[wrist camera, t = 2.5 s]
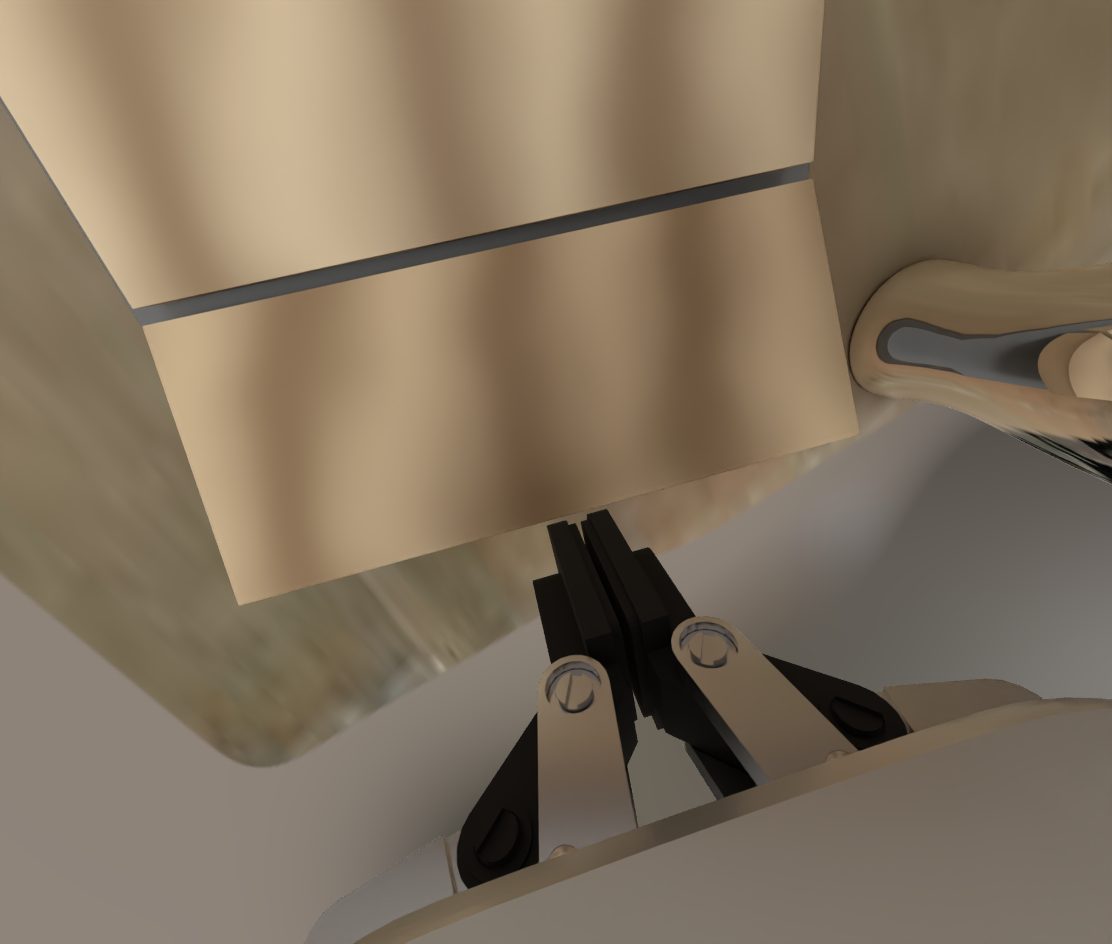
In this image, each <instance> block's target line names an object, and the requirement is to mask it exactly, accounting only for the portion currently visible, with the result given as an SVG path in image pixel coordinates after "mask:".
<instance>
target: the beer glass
mask: <svg viewBox="0 0 1112 944" xmlns="http://www.w3.org/2000/svg"><path fill="white" fill-rule="evenodd" d="M849 356H850V366H851V370H852V373H853V376H854V378H855V379H856V381H857V382H858V384H859V385H860V386H861V387H862V388H864V389H865V390H867V391H868V392H870V393H872V394H875V395H879V396H884V397H890V398H898V399H908V400H917V401H924V402H930V403H935V404H939V405H943V406H947V407H950V408H952V409H955V410H958V411H961V412H963V413H966V414H969V415H971V416H973V417H975V418H977V419H979V420H981V421H983V422H985V423H987V424H990V425H991V426H994V427H996V428H997V429H999V430H1001V431H1003V432H1005V433H1007V434H1009V435H1011V436H1013V437H1015V438H1017V439H1019V440H1021V441H1023V442H1025V443H1026V444H1028V445H1030V446H1032V447H1034V448H1036V449H1038V450H1040V451H1042V452H1044V453H1047V454H1048V455H1050V456H1052V457H1054V458H1056V459H1058V460H1060V461H1062V462H1064V463H1066V464H1068V465H1070V466H1072V467H1074V468H1077V469H1079V470H1081V471H1084V472H1086V473H1088V474H1090V475H1093V476H1094V477H1097V478H1099V479H1101V480H1103V481H1106V482H1108V483H1110V484H1112V263H1105V264H1098V265H1090V266H1082V267H1074V268H1065V269H1056V270H1048V271H1003V270H995V269H988V268H984V267H979V266H974V265H970V264H965V263H961V262H956V261H950V260H939V259H935V260H927V261H922V262H918V263H915V264H912V265H910V266H908V267H906V268H904V269H902V270H901V271H899V272H898V273H896V274H895V275H893V276H892V277H891V278H889V279H888V280H887V281H886V282H885V283H884V284H883V285H882V286H881V287H880V288H879V289H878V290H877V291H876V292H875V293H874V295H873V296H872V297H871V299H870V300H869V301H868V303H867V304H866V306H865V307H864V309H863V311H862V312H861V314H860V316H859V318H858V321H857V323H856V325H855V328H854V331H853V334H852V338H851V343H850V355H849Z"/></svg>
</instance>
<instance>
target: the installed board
mask: <svg viewBox="0 0 1112 944" xmlns="http://www.w3.org/2000/svg"><path fill="white" fill-rule="evenodd" d="M824 2H825V0H0V97H1V98H2V100H3V101H4V103H5V105H6V106H7V108H8V109H9V111H10V113H11V114H12V116H13V118H14V119H15V121H16V122H17V124H18V126H19V127H20V129H21V130H22V132H23V134H24V135H25V137H26V138H27V140H28V142H29V143H30V145H31V146H32V148H33V150H34V151H35V153H36V155H37V156H38V158H39V159H40V161H41V163H42V164H43V166H44V167H45V169H46V171H47V172H48V174H49V175H50V177H51V179H52V180H53V182H54V183H55V185H56V187H57V188H58V190H59V191H60V193H61V195H62V196H63V198H64V200H65V201H66V203H67V204H68V206H69V208H70V209H71V211H72V212H73V214H74V216H75V217H76V219H77V220H78V222H79V224H80V225H81V227H82V228H83V230H84V232H85V233H86V235H87V237H88V238H89V240H90V241H91V243H92V245H93V246H94V248H95V249H96V251H97V253H98V254H99V256H100V257H101V259H102V261H103V262H104V264H105V265H106V267H107V269H108V270H109V272H110V274H111V275H112V277H113V278H114V280H115V282H116V283H117V285H118V286H119V288H120V290H121V291H122V293H123V294H124V296H125V298H126V299H127V301H128V302H129V304H130V306H131V307H132V309H136V308H143V307H150V306H157V305H164V304H168V303H173V302H177V301H182V300H187V299H191V298H196V297H200V296H205V295H210V294H214V293H219V292H223V291H228V290H233V289H237V288H242V287H246V286H251V285H256V284H260V283H265V282H269V281H274V280H279V279H283V278H288V277H292V276H297V275H302V274H306V273H311V272H315V271H320V270H325V269H329V268H334V267H338V266H343V265H348V264H352V263H357V262H361V261H366V260H371V259H375V258H380V257H384V256H389V255H394V254H398V253H403V252H408V251H412V250H417V249H421V248H426V247H431V246H435V245H440V244H444V243H449V242H454V241H458V240H463V239H467V238H472V237H477V236H481V235H486V234H490V233H495V232H500V231H504V230H509V229H513V228H518V227H523V226H527V225H532V224H536V223H541V222H546V221H550V220H555V219H559V218H564V217H569V216H573V215H578V214H582V213H587V212H592V211H596V210H601V209H605V208H610V207H615V206H619V205H624V204H628V203H633V202H638V201H642V200H647V199H651V198H656V197H661V196H665V195H670V194H674V193H679V192H684V191H688V190H693V189H697V188H702V187H707V186H711V185H716V184H720V183H725V182H730V181H734V180H739V179H743V178H748V177H753V176H757V175H762V174H766V173H771V172H776V171H780V170H785V169H788V168H792V167H795V166H799V165H802V164H806V163H809V162H813V158H814V143H815V129H816V115H817V101H818V87H819V73H820V59H821V45H822V31H823V17H824Z"/></svg>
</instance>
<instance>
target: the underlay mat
mask: <svg viewBox="0 0 1112 944" xmlns="http://www.w3.org/2000/svg"><path fill="white" fill-rule="evenodd" d="M0 101H1V103H2V104H3V106H4V108H5V109H6V111H7V112H8V114H9V116H10V117H11V119H12V120H13V122H14V124H15V125H16V127H17V128H18V130H19V132H20V133H21V135H22V136H23V138H24V140H25V141H26V143H27V144H28V146H29V148H30V149H31V151H32V152H33V154H34V156H35V157H36V159H37V160H38V162H39V164H40V165H41V167H42V169H43V170H44V172H45V173H46V175H47V177H48V178H49V180H50V181H51V183H52V185H53V186H54V188H55V189H56V191H57V193H58V194H59V196H60V197H61V199H62V201H63V202H64V204H65V205H66V207H67V209H68V210H69V212H70V213H71V215H72V217H73V218H74V220H75V221H76V223H77V225H78V226H79V228H80V229H81V231H82V233H83V234H84V236H85V237H86V239H87V241H88V242H89V244H90V245H91V247H92V249H93V250H94V252H95V253H96V255H97V257H98V258H99V260H100V261H101V263H102V265H103V266H104V268H105V269H106V271H107V273H108V274H109V276H110V277H111V279H112V281H113V282H114V284H115V285H116V287H117V289H118V290H119V292H120V293H121V295H122V297H123V298H124V300H125V301H126V303H127V305H128V306H129V308H130V309H131V311H132V313H133V314H134V316H135V317H136V319H137V321H138V322H139V324H140V325H141V327H142V326H145V325H150V324H154V323H159V322H163V321H168V320H173V319H177V318H182V317H186V316H191V315H195V314H200V313H204V312H209V311H213V310H218V309H222V308H227V307H232V306H236V305H241V304H245V303H250V302H254V301H259V300H263V299H268V298H272V297H277V296H281V295H286V294H291V293H295V292H300V291H304V290H309V289H313V288H318V287H322V286H327V285H331V284H336V283H340V282H345V281H350V280H354V279H359V278H363V277H368V276H372V275H377V274H381V273H386V272H390V271H395V270H399V269H404V268H409V267H413V266H418V265H422V264H427V263H431V262H436V261H440V260H445V259H449V258H454V257H458V256H463V255H468V254H472V253H477V252H481V251H486V250H490V249H495V248H499V247H504V246H508V245H513V244H517V243H522V242H527V241H531V240H536V239H540V238H545V237H549V236H554V235H558V234H563V233H567V232H572V231H576V230H581V229H586V228H590V227H595V226H599V225H604V224H608V223H613V222H617V221H622V220H626V219H631V218H635V217H640V216H645V215H649V214H654V213H658V212H663V211H667V210H672V209H676V208H681V207H685V206H690V205H694V204H699V203H704V202H708V201H713V200H717V199H722V198H726V197H731V196H735V195H740V194H744V193H749V192H753V191H758V190H763V189H767V188H772V187H776V186H781V185H785V184H790V183H794V182H799V181H803V180H808V171H809V163H806V164H802V165H799V166H795V167H792V168H788V169H785V170H780V171H776V172H771V173H766V174H762V175H757V176H753V177H748V178H743V179H739V180H734V181H730V182H725V183H720V184H716V185H711V186H707V187H702V188H697V189H693V190H688V191H684V192H679V193H674V194H670V195H665V196H661V197H656V198H651V199H647V200H642V201H638V202H633V203H628V204H624V205H619V206H615V207H610V208H605V209H601V210H596V211H592V212H587V213H582V214H578V215H573V216H569V217H564V218H559V219H555V220H550V221H546V222H541V223H536V224H532V225H527V226H523V227H518V228H513V229H509V230H504V231H500V232H495V233H490V234H486V235H481V236H477V237H472V238H467V239H463V240H458V241H454V242H449V243H444V244H440V245H435V246H431V247H426V248H421V249H417V250H412V251H408V252H403V253H398V254H394V255H389V256H384V257H380V258H375V259H371V260H366V261H361V262H357V263H352V264H348V265H343V266H338V267H334V268H329V269H325V270H320V271H315V272H311V273H306V274H302V275H297V276H292V277H288V278H283V279H279V280H274V281H269V282H265V283H260V284H256V285H251V286H246V287H242V288H237V289H233V290H228V291H223V292H219V293H214V294H210V295H205V296H200V297H196V298H191V299H187V300H182V301H177V302H173V303H168V304H164V305H157V306H150V307H143V308H136V309H132V307H131V306H130V304H129V302H128V301H127V299H126V298H125V296H124V294H123V293H122V291H121V290H120V288H119V286H118V285H117V283H116V282H115V280H114V278H113V277H112V275H111V274H110V272H109V270H108V269H107V267H106V265H105V264H104V262H103V261H102V259H101V257H100V256H99V254H98V253H97V251H96V249H95V248H94V246H93V245H92V243H91V241H90V240H89V238H88V237H87V235H86V233H85V232H84V230H83V228H82V227H81V225H80V224H79V222H78V220H77V219H76V217H75V216H74V214H73V212H72V211H71V209H70V208H69V206H68V204H67V203H66V201H65V200H64V198H63V196H62V195H61V193H60V191H59V190H58V188H57V187H56V185H55V183H54V182H53V180H52V179H51V177H50V175H49V174H48V172H47V171H46V169H45V167H44V166H43V164H42V163H41V161H40V159H39V158H38V156H37V155H36V153H35V151H34V150H33V148H32V146H31V145H30V143H29V142H28V140H27V138H26V137H25V135H24V134H23V132H22V130H21V129H20V127H19V126H18V124H17V122H16V121H15V119H14V118H13V116H12V114H11V113H10V111H9V109H8V108H7V106H6V105H5V103H4V101H3V100H2V98H1V97H0ZM142 329H143V327H142Z"/></svg>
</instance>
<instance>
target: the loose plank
mask: <svg viewBox="0 0 1112 944" xmlns="http://www.w3.org/2000/svg"><path fill="white" fill-rule="evenodd" d="M142 327H143V330H144V332H145V335H146V338H147V341H148V344H149V347H150V350H151V353H152V356H153V359H154V361H155V364H156V367H157V370H158V373H159V376H160V379H161V382H162V385H163V388H164V390H165V393H166V396H167V399H168V402H169V405H170V408H171V411H172V414H173V417H174V419H175V422H176V425H177V428H178V431H179V434H180V437H181V440H182V443H183V446H184V448H185V451H186V454H187V457H188V460H189V463H190V466H191V469H192V472H193V475H194V477H195V480H196V483H197V486H198V489H199V492H200V495H201V498H202V501H203V504H204V506H205V509H206V512H207V515H208V518H209V521H210V524H211V527H212V530H213V533H214V535H215V538H216V541H217V544H218V547H219V550H220V553H221V556H222V559H223V562H224V564H225V567H226V570H227V573H228V576H229V579H230V582H231V585H232V588H233V591H234V593H235V596H236V599H237V602H238V605H239V606H240V605H243V604H247V603H251V602H254V601H258V600H262V599H265V598H269V597H272V596H276V595H280V594H283V593H287V592H291V591H294V590H298V589H301V588H305V587H309V586H312V585H316V584H320V583H323V582H327V581H330V580H334V579H338V578H341V577H345V576H349V575H352V574H356V573H359V572H363V571H367V570H370V569H374V568H378V567H381V566H385V565H389V564H392V563H396V562H399V561H403V560H407V559H410V558H414V557H418V556H421V555H425V554H428V553H432V552H436V551H439V550H443V549H447V548H450V547H454V546H457V545H461V544H465V543H468V542H472V541H476V540H479V539H483V538H486V537H490V536H494V535H497V534H501V533H505V532H508V531H512V530H516V529H519V528H523V527H526V526H530V525H534V524H537V523H541V522H545V521H548V520H552V519H555V518H559V517H563V516H566V515H570V514H574V513H577V512H581V511H584V510H588V509H592V508H595V507H599V506H603V505H606V504H610V503H613V502H617V501H621V500H624V499H628V498H632V497H635V496H639V495H643V494H646V493H650V492H653V491H657V490H661V489H664V488H668V487H672V486H675V485H679V484H682V483H686V482H690V481H693V480H697V479H701V478H704V477H708V476H711V475H715V474H719V473H722V472H726V471H730V470H733V469H737V468H741V467H744V466H748V465H751V464H755V463H759V462H762V461H766V460H770V459H773V458H777V457H780V456H784V455H788V454H791V453H795V452H799V451H802V450H806V449H809V448H813V447H817V446H820V445H824V444H828V443H831V442H835V441H838V440H842V439H846V438H849V437H853V436H857V435H860V433H859V428H858V422H857V417H856V411H855V406H854V400H853V395H852V389H851V384H850V379H849V373H848V368H847V362H846V357H845V351H844V346H843V340H842V335H841V329H840V324H839V319H838V313H837V308H836V302H835V297H834V291H833V286H832V280H831V275H830V270H829V264H828V259H827V253H826V248H825V242H824V237H823V231H822V226H821V220H820V215H819V210H818V204H817V199H816V193H815V188H814V182H813V178H812V179H808V180H803V181H799V182H794V183H790V184H785V185H781V186H776V187H772V188H767V189H763V190H758V191H753V192H749V193H744V194H740V195H735V196H731V197H726V198H722V199H717V200H713V201H708V202H704V203H699V204H694V205H690V206H685V207H681V208H676V209H672V210H667V211H663V212H658V213H654V214H649V215H645V216H640V217H635V218H631V219H626V220H622V221H617V222H613V223H608V224H604V225H599V226H595V227H590V228H586V229H581V230H576V231H572V232H567V233H563V234H558V235H554V236H549V237H545V238H540V239H536V240H531V241H527V242H522V243H517V244H513V245H508V246H504V247H499V248H495V249H490V250H486V251H481V252H477V253H472V254H468V255H463V256H458V257H454V258H449V259H445V260H440V261H436V262H431V263H427V264H422V265H418V266H413V267H409V268H404V269H399V270H395V271H390V272H386V273H381V274H377V275H372V276H368V277H363V278H359V279H354V280H350V281H345V282H340V283H336V284H331V285H327V286H322V287H318V288H313V289H309V290H304V291H300V292H295V293H291V294H286V295H281V296H277V297H272V298H268V299H263V300H259V301H254V302H250V303H245V304H241V305H236V306H232V307H227V308H222V309H218V310H213V311H209V312H204V313H200V314H195V315H191V316H186V317H182V318H177V319H173V320H168V321H163V322H159V323H154V324H150V325H145V326H142Z"/></svg>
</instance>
